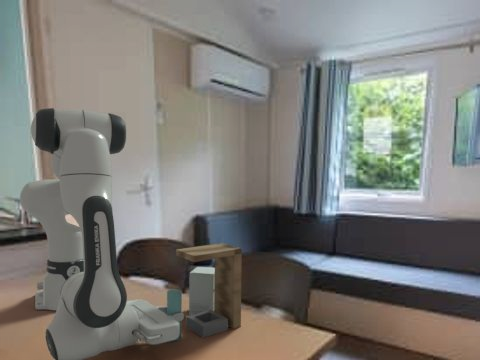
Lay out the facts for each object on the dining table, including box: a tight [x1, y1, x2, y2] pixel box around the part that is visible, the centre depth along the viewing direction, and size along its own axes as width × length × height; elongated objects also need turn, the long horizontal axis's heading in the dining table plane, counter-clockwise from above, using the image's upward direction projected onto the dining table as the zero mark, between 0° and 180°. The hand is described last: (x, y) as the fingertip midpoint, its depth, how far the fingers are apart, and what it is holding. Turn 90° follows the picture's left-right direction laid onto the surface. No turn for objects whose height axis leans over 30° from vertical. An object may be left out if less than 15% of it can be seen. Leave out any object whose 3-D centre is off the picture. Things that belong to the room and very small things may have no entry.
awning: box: [175, 242, 243, 330], centre depth 103 cm, size 9×15×22 cm, turn 129°
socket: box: [186, 310, 229, 339], centre depth 103 cm, size 8×8×3 cm
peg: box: [166, 288, 183, 343], centre depth 97 cm, size 4×4×12 cm
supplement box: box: [188, 266, 215, 316], centre depth 115 cm, size 7×7×13 cm
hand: (177, 312), depth 97 cm, fingers closed on peg, 4 cm apart
